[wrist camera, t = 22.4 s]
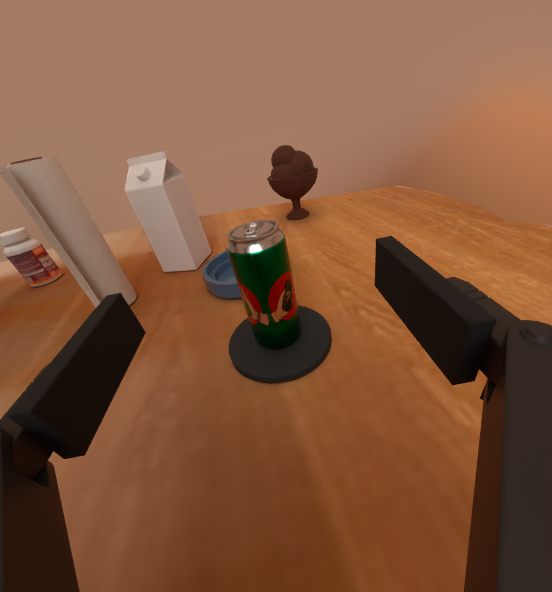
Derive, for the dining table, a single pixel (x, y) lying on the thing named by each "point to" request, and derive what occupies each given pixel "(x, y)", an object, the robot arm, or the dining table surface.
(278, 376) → the coaster
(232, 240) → the soda can
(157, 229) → the milk carton
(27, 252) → the pill bottle
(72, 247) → the paper towel roll
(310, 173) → the ice cream bowl
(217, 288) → the dish
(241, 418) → the dining table surface
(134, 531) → the dining table surface
